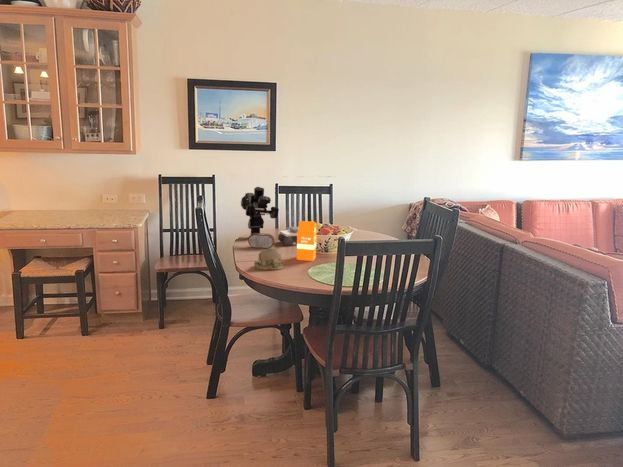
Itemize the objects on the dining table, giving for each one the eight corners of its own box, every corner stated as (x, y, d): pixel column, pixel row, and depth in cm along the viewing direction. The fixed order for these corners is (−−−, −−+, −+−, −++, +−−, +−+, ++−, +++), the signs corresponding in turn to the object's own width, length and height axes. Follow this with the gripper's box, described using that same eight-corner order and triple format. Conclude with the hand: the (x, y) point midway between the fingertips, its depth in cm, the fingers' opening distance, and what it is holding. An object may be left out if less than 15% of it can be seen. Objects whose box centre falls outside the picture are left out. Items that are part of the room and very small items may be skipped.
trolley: (277, 242, 280) (278, 227, 278) (297, 240, 285) (297, 226, 283) (284, 246, 270) (284, 231, 268) (304, 244, 276) (304, 229, 274)
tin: (274, 247, 266) (274, 233, 264) (273, 249, 263) (273, 234, 261) (248, 246, 267) (248, 232, 265) (247, 248, 264) (247, 233, 262)
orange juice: (313, 261, 241) (314, 223, 237) (296, 259, 243) (297, 222, 239) (315, 257, 249) (317, 220, 244) (299, 255, 250) (300, 219, 246)
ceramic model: (280, 263, 236) (280, 244, 234) (286, 269, 226) (286, 249, 223) (252, 265, 232) (252, 245, 229) (257, 271, 221) (257, 251, 219)
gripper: (246, 192, 268) (251, 202, 255) (276, 195, 275) (283, 205, 262) (243, 210, 272) (248, 221, 259) (273, 212, 280) (280, 223, 266)
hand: (265, 217), depth 262 cm, fingers open, 9 cm apart
